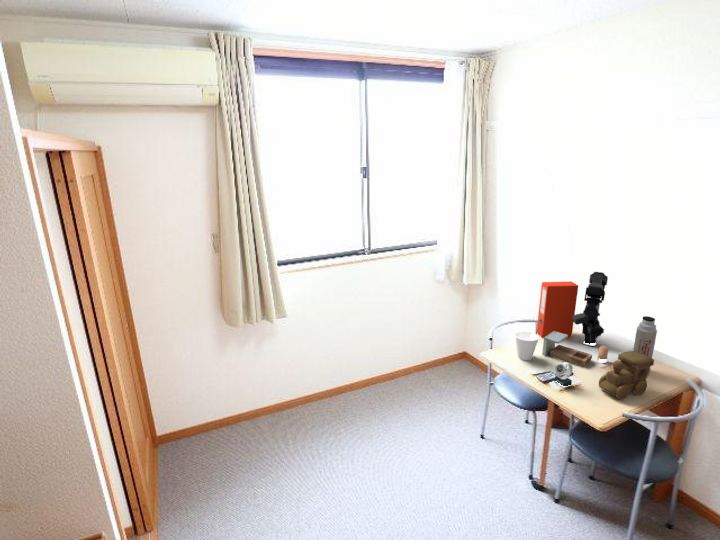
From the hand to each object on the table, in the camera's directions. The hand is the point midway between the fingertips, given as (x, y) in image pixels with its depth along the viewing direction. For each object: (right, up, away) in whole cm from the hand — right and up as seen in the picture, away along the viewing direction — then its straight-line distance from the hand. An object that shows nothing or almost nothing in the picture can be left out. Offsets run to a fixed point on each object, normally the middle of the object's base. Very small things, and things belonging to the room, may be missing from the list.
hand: (588, 338), depth 211 cm
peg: (+8, -12, +3) cm, 15 cm away
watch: (-21, -19, -17) cm, 33 cm away
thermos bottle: (+21, -15, -7) cm, 27 cm away
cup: (-29, -12, +9) cm, 32 cm away
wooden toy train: (+2, -20, -24) cm, 31 cm away
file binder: (-1, -4, +35) cm, 35 cm away
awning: (-12, -10, +12) cm, 20 cm away
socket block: (-6, -12, +6) cm, 14 cm away
